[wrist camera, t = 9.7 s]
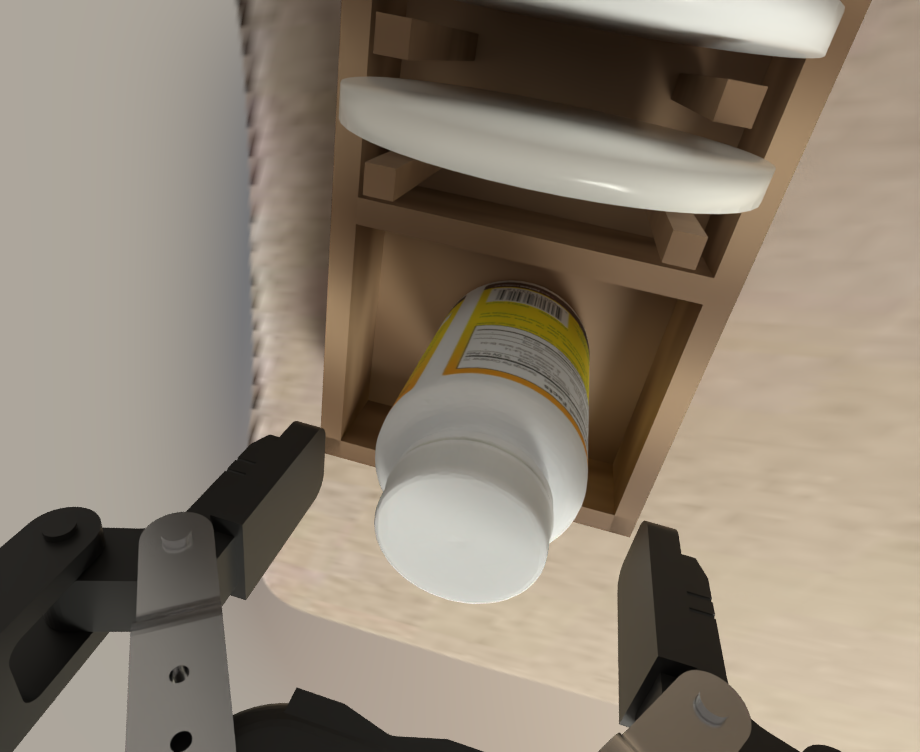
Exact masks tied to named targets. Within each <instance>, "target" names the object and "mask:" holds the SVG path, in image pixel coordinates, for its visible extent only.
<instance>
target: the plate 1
mask: <svg viewBox="0 0 920 752" xmlns="http://www.w3.org/2000/svg"><path fill="white" fill-rule="evenodd" d="M456 1H461V2H465V3H469V4H474V5H478V6H483V7H487V8H492V9H496V10H501V11H506V12H511V13H515V14H520V15H525V16H530V17H535V18H540V19H545V20H550V21H555V22H560V23H565V24H570V25H576V26H581V27H586V28H592V29H597V30H602V31H608V32H614V33H619V34H625V35H631V36H636V37H642V38H648V39H654V40H660V41H666V42H673V43H679V44H685V45H692V46H699V47H705V48H712V49H719V50H727V51H734V52H742V53H750V54H759V55H768V56H778V57H790V58H821V57H824V56H825V55H826V53H827V50H828V48H829V46H830V43H831V41H832V39H833V37H834V34H835V32H836V30H837V27H838V25H839V23H840V20H841V18H842V16H843V13H844V10H845V6H844V5H843V4H842V2H841V1H840V0H456Z"/></svg>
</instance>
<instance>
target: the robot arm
mask: <svg viewBox="0 0 920 752" xmlns="http://www.w3.org/2000/svg"><path fill="white" fill-rule="evenodd" d="M325 439H326V433H325V430H324V429H323V428H320V427H316V426H313V425H309V424H306V423H302V422H299V421H294V422H293V423H292V424H291V425H290V426H289V427H288V428H287V429H286V430H285V432H284V433H283V434H282V435H281V436H280V437H277V436H273V435H268V436H266V437H264V438H262V439H260V440H258V441H256V442H254V443H252V444H250V445H249V446H248V447H247V449H246V450H245V451H244V452H243V453H242V454H241V455H240V456H239V457H238V460H235V461H234V462H233V463H232V464H231V465H230V466H229V467H228V470H227V471H225V472H224V473H223V474H222V475H221V476H220V477H219V478H218V479H217V480H216V481H215V482H214V483H213V484H212V485H211V486H210V487H209V488H208V489H207V490H206V492H204V494H203V495H202V496H201V497H200V498H199V499H198V500H197V501H196V502H195V503H194V504H193V505H192V506H191V507H190V508H189V509H188V510H187V511H186V512H177V513H172V514H168V515H165V516H163V517H161V518H159V519H157V520H155V521H154V522H152V523H151V524H150V525H148V526H147V528H144V529H131V528H102V524H101V520H100V517H99V516H98V515H97V514H96V513H95V512H94V511H92V510H90V509H87V508H82V507H66V508H60V509H57V510H53V511H50V512H47V513H45V514H43V515H41V516H39V517H37V518H36V519H34V520H33V521H31V522H30V523H29V524H28V525H26V526H25V527H24V528H23V529H22V530H21V531H19V532H18V533H17V534H16V535H15V536H13V537H12V538H11V539H10V540H9V541H8V542H7V543H5V544H4V545H3V546H2V547H1V548H0V752H13V751H14V749H15V748H16V747H17V746H18V745H19V743H20V742H21V741H22V740H23V738H24V737H25V736H26V735H27V733H28V732H29V731H30V730H31V728H32V727H33V726H34V724H35V723H36V722H37V721H38V720H39V718H40V717H41V716H42V715H43V713H44V712H45V711H46V710H47V708H48V707H49V706H50V705H51V704H52V702H53V701H54V700H55V698H56V697H57V696H58V695H59V694H60V692H61V691H62V690H63V688H65V686H66V685H67V684H68V683H69V681H70V680H71V679H72V677H73V676H74V675H75V674H76V672H77V671H78V670H79V669H80V668H81V666H82V665H83V664H84V663H85V661H86V660H87V659H88V658H89V656H90V655H91V654H92V653H93V652H94V650H95V649H96V648H97V646H98V645H99V644H100V642H102V640H103V639H104V638H105V637H106V635H107V634H108V633H109V632H131V633H130V655H129V676H128V700H127V722H126V723H127V724H126V746H125V747H126V748H125V752H483V751H480V750H477V749H474V748H471V747H468V746H466V745H463V744H460V743H457V742H454V741H451V740H448V739H433V738H416V737H397V736H392V735H389V734H387V733H385V732H384V731H383V730H381V729H380V728H378V727H377V726H375V725H374V724H373V723H371V722H370V721H368V720H367V719H365V718H364V717H362V716H361V715H360V714H358V713H357V712H355V711H354V710H352V709H351V708H350V707H348V706H347V705H345V704H343V703H340V702H337V701H334V700H331V699H329V698H326V697H323V696H320V695H316V694H314V693H311V692H308V691H305V690H302V689H299V688H296V690H295V692H294V694H293V696H292V698H291V700H290V702H289V703H278V704H267V705H263V706H257V707H253V708H250V709H247V710H244V711H241V712H239V713H237V714H234V715H233V714H232V704H231V695H230V684H229V674H228V664H227V654H226V644H225V635H224V624H223V615H222V606H223V604H224V603H225V601H226V600H227V599H228V597H229V596H230V595H231V596H235V597H238V598H241V599H244V600H246V599H247V598H248V596H249V595H250V594H251V592H252V591H253V589H254V588H255V586H256V585H257V583H258V582H259V580H260V579H261V578H262V576H263V575H264V573H265V572H266V570H267V569H268V567H269V566H270V564H271V563H272V561H273V560H274V559H275V557H276V556H277V554H278V553H279V551H280V550H281V548H282V547H283V545H284V544H285V542H286V541H287V540H288V538H289V537H290V535H291V534H292V532H293V531H294V529H295V528H296V526H297V525H298V523H299V522H300V521H301V519H302V518H303V516H304V515H305V513H306V512H307V510H308V509H309V507H310V506H311V504H312V503H313V502H314V500H315V499H316V497H317V495H318V493H319V490H320V488H321V485H322V481H323V475H324V458H325ZM711 599H712V597H711V592H710V587H709V581H708V578H707V576H706V574H705V573H704V571H703V570H702V568H701V566H700V565H699V563H698V562H697V560H696V558H693V557H689V556H686V555H682V554H681V549H680V542H679V535H678V532H677V530H676V529H672V528H669V527H665V526H662V525H658V524H655V523H651V522H648V521H643V522H642V523H641V525H640V527H639V529H638V532H637V534H636V536H635V538H634V540H633V543H632V545H631V547H630V549H629V551H628V554H627V556H626V558H625V560H624V563H623V565H622V568H621V571H620V575H619V581H618V667H619V724H620V725H623V726H626V727H629V729H628V730H626V731H625V732H624V733H623V734H622V735H621V734H620V733H618V734H616V735H615V736H614V737H613V738H612V739H610V740H609V741H608V742H607V743H606V744H605V745H604V746H603V747H602V748H601V749H600V750H599V752H799V751H798V750H796V749H795V748H793V747H791V746H790V745H788V744H787V743H785V742H783V741H782V740H780V739H779V738H777V737H775V736H774V735H772V734H771V733H769V732H767V731H766V730H765V729H763V728H762V727H760V726H759V725H758V724H757V723H755V722H754V721H753V720H752V719H751V718H750V714H749V711H748V709H747V707H746V705H745V703H744V702H743V700H742V698H741V697H740V696H739V695H738V693H737V692H736V691H735V690H734V689H733V688H732V687H731V686H730V685H729V684H728V681H727V676H726V671H725V665H724V660H723V655H722V650H721V644H720V639H719V634H718V629H717V623H716V619H714V616H715V613H714V608H713V603H712V602H711ZM803 752H841V751H839V750H837V749H835V748H832V747H829V746H826V745H812V746H809V747H807V748H806V749H805V750H804V751H803Z"/></svg>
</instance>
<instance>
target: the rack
mask: <svg viewBox="0 0 920 752" xmlns="http://www.w3.org/2000/svg"><path fill="white" fill-rule="evenodd" d="M840 1H841V2H842V4H843V5H844V6H845V10H844V13H843V16H842V18H841V20H840V23H839V25H838V27H837V30H836V32H835V34H834V37H833V39H832V41H831V43H830V46H829V48H828V50H827V53H826V55H825V56H824V57H821V58H790V57H778V56H768V55H759V54H750V53H742V52H734V51H727V50H719V49H712V48H705V47H699V46H692V45H685V44H679V43H673V42H666V41H660V40H654V39H648V38H642V37H636V36H631V35H625V34H619V33H614V32H608V31H602V30H597V29H592V28H586V27H581V26H576V25H570V24H565V23H560V22H555V21H550V20H545V19H540V18H535V17H530V16H525V15H520V14H515V13H511V12H506V11H501V10H496V9H492V8H487V7H483V6H478V5H474V4H469V3H465V2H461V1H456V0H342V2H341V23H340V43H339V64H338V85H337V105H336V126H335V147H334V167H333V188H332V209H331V230H330V250H329V271H328V292H327V312H326V333H325V354H324V374H323V395H322V416H321V428H323V429H324V430H325V433H326V439H325V453H326V454H330V455H333V456H337V457H340V458H344V459H348V460H351V461H355V462H359V463H362V464H366V465H369V466H373V467H376V466H375V450H376V443H377V439H378V435H379V433H380V430H381V428H382V425H383V423H384V421H385V419H386V417H387V415H388V413H389V411H390V410H391V408H392V406H393V405H394V403H395V401H396V400H397V398H398V396H399V394H400V393H401V391H402V390H403V388H404V386H405V385H406V383H407V381H408V380H409V378H410V376H411V375H412V373H413V371H414V370H415V368H416V366H417V365H418V363H419V361H420V359H421V358H422V356H423V355H424V353H425V351H426V349H427V348H428V346H429V345H430V343H431V341H432V340H433V338H434V336H435V335H436V333H437V331H438V330H439V328H440V326H441V324H442V323H443V321H444V319H445V317H446V316H447V314H448V313H449V311H450V310H451V309H452V307H453V306H454V305H455V304H456V303H457V302H458V301H459V300H460V299H461V298H462V297H463V296H465V295H466V294H467V293H469V292H471V291H472V290H474V289H476V288H478V287H480V286H483V285H486V284H489V283H493V282H498V281H508V280H514V281H524V282H529V283H533V284H536V285H539V286H542V287H544V288H546V289H548V290H550V291H552V292H554V293H555V294H557V295H558V296H560V297H561V298H562V299H563V300H564V301H565V302H567V303H568V304H569V305H570V307H571V308H572V309H573V310H574V311H575V313H576V314H577V316H578V317H579V319H580V320H581V322H582V324H583V326H584V329H585V331H586V334H587V339H588V344H589V351H590V364H589V422H588V478H587V488H586V494H585V497H584V500H583V503H582V506H581V508H580V510H579V512H578V514H577V516H576V518H575V519H574V521H573V522H576V523H580V524H583V525H587V526H591V527H594V528H598V529H602V530H605V531H609V532H612V533H616V534H620V535H623V536H627V537H630V536H631V533H632V531H633V529H634V527H635V525H636V522H637V520H638V518H639V516H640V513H641V511H642V509H643V507H644V505H645V502H646V500H647V498H648V496H649V494H650V491H651V489H652V487H653V485H654V482H655V480H656V478H657V476H658V474H659V471H660V469H661V467H662V465H663V462H664V460H665V458H666V456H667V454H668V451H669V449H670V447H671V445H672V442H673V440H674V438H675V436H676V434H677V431H678V429H679V427H680V425H681V423H682V420H683V418H684V416H685V414H686V411H687V409H688V407H689V405H690V403H691V400H692V398H693V396H694V394H695V391H696V389H697V387H698V385H699V383H700V380H701V378H702V376H703V374H704V371H705V369H706V367H707V365H708V363H709V360H710V358H711V356H712V354H713V351H714V349H715V347H716V345H717V343H718V340H719V338H720V336H721V334H722V332H723V329H724V327H725V325H726V323H727V320H728V318H729V316H730V314H731V312H732V309H733V307H734V305H735V303H736V300H737V298H738V296H739V294H740V292H741V289H742V287H743V285H744V283H745V280H746V278H747V276H748V274H749V272H750V269H751V267H752V265H753V263H754V261H755V258H756V256H757V254H758V252H759V249H760V247H761V245H762V243H763V241H764V238H765V236H766V234H767V232H768V229H769V227H770V225H771V223H772V221H773V218H774V216H775V214H776V212H777V209H778V207H779V205H780V203H781V201H782V198H783V196H784V194H785V192H786V190H787V187H788V185H789V183H790V181H791V178H792V176H793V174H794V172H795V170H796V167H797V165H798V163H799V161H800V158H801V156H802V154H803V152H804V150H805V147H806V145H807V143H808V141H809V138H810V136H811V134H812V132H813V130H814V127H815V125H816V123H817V121H818V118H819V116H820V114H821V112H822V110H823V107H824V105H825V103H826V101H827V99H828V96H829V94H830V92H831V90H832V87H833V85H834V83H835V81H836V79H837V76H838V74H839V72H840V70H841V67H842V65H843V63H844V61H845V59H846V56H847V54H848V52H849V50H850V47H851V45H852V43H853V41H854V39H855V36H856V34H857V32H858V30H859V28H860V25H861V23H862V21H863V19H864V16H865V14H866V12H867V10H868V8H869V5H870V3H871V1H872V0H840ZM366 76H367V77H389V78H401V79H412V80H421V81H430V82H437V83H445V84H452V85H459V86H466V87H472V88H479V89H485V90H491V91H497V92H503V93H509V94H515V95H520V96H526V97H531V98H537V99H542V100H547V101H552V102H557V103H562V104H567V105H572V106H577V107H582V108H587V109H591V110H596V111H600V112H605V113H609V114H614V115H618V116H623V117H627V118H631V119H635V120H640V121H644V122H648V123H652V124H656V125H660V126H664V127H668V128H671V129H675V130H679V131H683V132H686V133H690V134H694V135H697V136H701V137H704V138H707V139H711V140H714V141H717V142H721V143H724V144H727V145H730V146H733V147H736V148H739V149H741V150H744V151H747V152H749V153H752V154H754V155H757V156H759V157H761V158H763V159H765V160H767V161H769V162H770V163H772V164H773V165H774V166H775V168H776V170H775V172H774V174H773V177H772V179H771V181H770V184H769V186H768V188H767V190H766V193H765V195H764V197H763V200H762V202H761V204H760V205H759V207H758V208H756V209H753V210H751V211H747V212H741V213H730V214H694V213H680V212H667V211H658V210H649V209H640V208H632V207H625V206H618V205H612V204H605V203H598V202H593V201H587V200H581V199H575V198H570V197H564V196H559V195H554V194H549V193H544V192H539V191H534V190H530V189H525V188H520V187H516V186H512V185H507V184H503V183H499V182H495V181H490V180H486V179H482V178H479V177H475V176H471V175H467V174H463V173H460V172H456V171H452V170H449V169H446V168H442V167H439V166H435V165H432V164H429V163H425V162H422V161H419V160H416V159H413V158H410V157H408V156H405V155H402V154H399V153H396V152H393V151H391V150H388V149H386V148H383V147H381V146H378V145H376V144H373V143H371V142H369V141H367V140H365V139H363V138H361V137H359V136H357V135H355V134H354V133H352V132H351V131H349V130H347V129H346V128H345V127H344V126H343V125H342V124H341V123H340V120H339V101H340V82H341V81H342V79H345V78H349V77H366Z"/></svg>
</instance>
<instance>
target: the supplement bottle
mask: <svg viewBox="0 0 920 752" xmlns="http://www.w3.org/2000/svg"><path fill="white" fill-rule="evenodd" d="M589 364H590V351H589V344H588V339H587V334H586V331H585V329H584V326H583V324H582V322H581V320H580V319H579V317H578V316H577V314H576V313H575V311H574V310H573V309H572V308H571V307H570V305H569V304H568V303H567V302H565V301H564V300H563V299H562V298H561V297H560V296H558V295H557V294H555V293H554V292H552V291H550V290H548V289H546V288H544V287H542V286H539V285H536V284H533V283H529V282H524V281H514V280H508V281H498V282H493V283H489V284H486V285H483V286H480V287H478V288H476V289H474V290H472V291H471V292H469V293H467V294H466V295H465V296H463V297H462V298H461V299H460V300H459V301H458V302H457V303H456V304H455V305H454V306H453V307H452V309H451V310H450V311H449V313H448V314H447V316H446V317H445V319H444V321H443V323H442V324H441V326H440V328H439V330H438V331H437V333H436V335H435V336H434V338H433V340H432V341H431V343H430V345H429V346H428V348H427V349H426V351H425V353H424V355H423V356H422V358H421V359H420V361H419V363H418V365H417V366H416V368H415V370H414V371H413V373H412V375H411V376H410V378H409V380H408V381H407V383H406V385H405V386H404V388H403V390H402V391H401V393H400V394H399V396H398V398H397V400H396V401H395V403H394V405H393V406H392V408H391V410H390V411H389V413H388V415H387V417H386V419H385V421H384V423H383V425H382V428H381V430H380V433H379V435H378V439H377V443H376V450H375V466H376V472H377V476H378V480H379V484H380V486H381V489H382V491H383V493H382V495H381V497H380V500H379V502H378V505H377V508H376V512H375V521H374V525H375V534H376V538H377V541H378V543H379V546H380V548H381V550H382V552H383V554H384V555H385V557H386V559H387V560H388V561H389V563H390V564H391V565H392V566H393V567H394V568H395V569H396V570H397V571H398V572H399V573H400V574H401V575H402V576H403V577H404V578H405V579H407V580H408V581H409V582H411V583H412V584H414V585H415V586H417V587H419V588H420V589H422V590H424V591H426V592H428V593H430V594H433V595H435V596H438V597H441V598H444V599H447V600H451V601H456V602H462V603H470V604H482V603H494V602H499V601H503V600H507V599H510V598H512V597H514V596H516V595H518V594H520V593H522V592H524V591H525V590H526V589H528V588H529V587H530V586H531V585H532V584H533V583H534V582H535V581H536V580H537V579H538V577H539V576H540V574H541V573H542V570H543V568H544V565H545V563H546V559H547V555H548V549H549V543H550V542H552V541H553V540H555V539H556V538H557V537H559V536H560V535H561V534H562V533H563V532H564V531H565V530H566V529H567V528H568V527H569V526H570V524H571V523H572V522H573V521H574V519H575V518H576V516H577V514H578V512H579V510H580V508H581V506H582V503H583V500H584V497H585V494H586V488H587V478H588V422H589Z"/></svg>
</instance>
